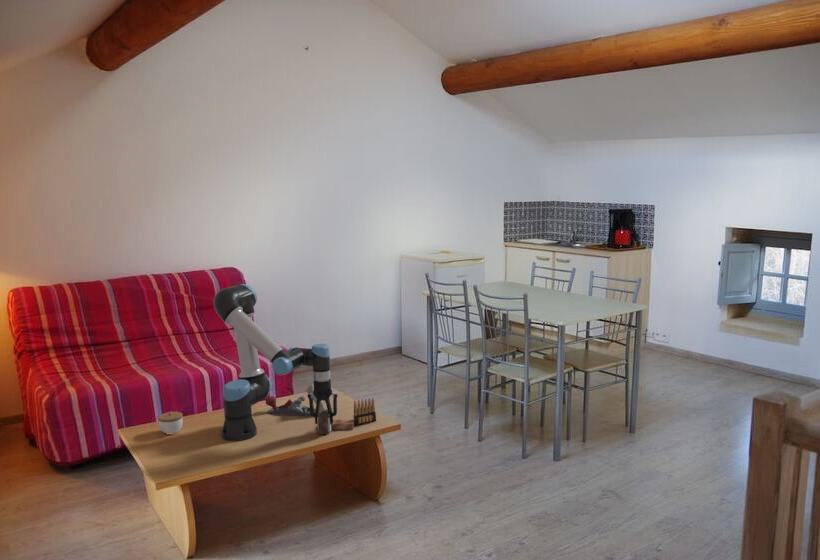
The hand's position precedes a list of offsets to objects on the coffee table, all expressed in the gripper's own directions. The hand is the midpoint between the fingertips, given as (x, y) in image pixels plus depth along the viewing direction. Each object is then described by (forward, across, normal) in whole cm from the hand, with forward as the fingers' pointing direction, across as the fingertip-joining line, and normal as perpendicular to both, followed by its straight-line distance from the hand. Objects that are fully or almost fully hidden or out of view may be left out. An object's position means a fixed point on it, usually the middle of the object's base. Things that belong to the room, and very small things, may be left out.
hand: (324, 430), depth 314 cm
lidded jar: (+1, -70, 0) cm, 70 cm away
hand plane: (+1, -18, +26) cm, 32 cm away
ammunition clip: (+1, +16, +12) cm, 20 cm away
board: (+1, +4, +6) cm, 8 cm away
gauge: (0, 0, +2) cm, 2 cm away
